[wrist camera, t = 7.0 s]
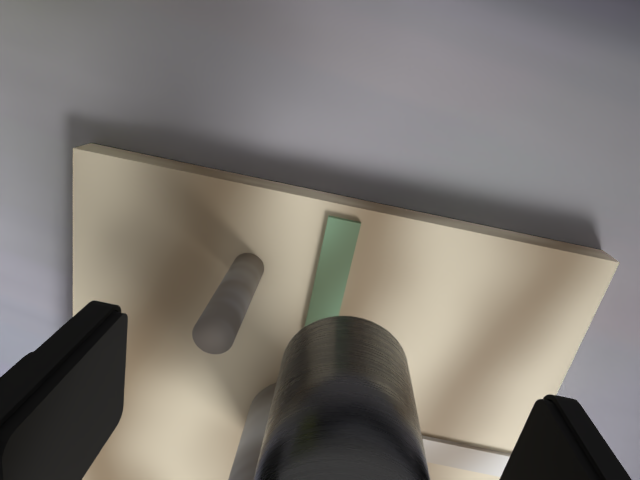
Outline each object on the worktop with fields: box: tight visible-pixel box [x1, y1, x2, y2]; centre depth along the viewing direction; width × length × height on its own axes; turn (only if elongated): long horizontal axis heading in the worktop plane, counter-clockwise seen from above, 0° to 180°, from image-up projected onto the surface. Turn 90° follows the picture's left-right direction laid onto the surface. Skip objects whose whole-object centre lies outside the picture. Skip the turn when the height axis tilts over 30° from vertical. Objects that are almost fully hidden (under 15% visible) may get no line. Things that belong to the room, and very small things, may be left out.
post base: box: [73, 143, 619, 480], centre depth 18 cm, size 20×20×7 cm
